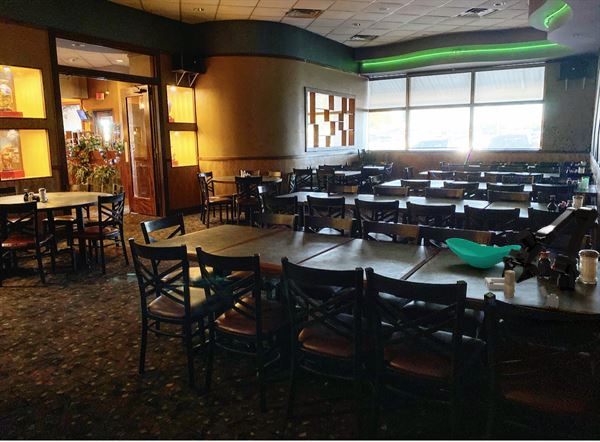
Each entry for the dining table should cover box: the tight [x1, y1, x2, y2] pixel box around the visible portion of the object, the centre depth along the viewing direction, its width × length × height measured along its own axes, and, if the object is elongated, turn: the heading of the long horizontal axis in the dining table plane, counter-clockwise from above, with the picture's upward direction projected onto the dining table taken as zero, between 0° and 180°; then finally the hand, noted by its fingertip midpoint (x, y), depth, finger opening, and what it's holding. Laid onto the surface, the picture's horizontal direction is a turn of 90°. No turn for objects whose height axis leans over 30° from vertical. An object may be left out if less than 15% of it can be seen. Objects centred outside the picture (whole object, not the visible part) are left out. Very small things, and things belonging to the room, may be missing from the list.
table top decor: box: [445, 237, 522, 269], centre depth 256 cm, size 40×28×13 cm
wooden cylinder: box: [503, 270, 516, 298], centre depth 208 cm, size 3×3×12 cm
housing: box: [484, 277, 505, 291], centre depth 223 cm, size 11×11×3 cm
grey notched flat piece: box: [539, 285, 560, 309], centre depth 195 cm, size 7×2×8 cm, turn 47°
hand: (509, 280), depth 207 cm, fingers open, 9 cm apart
